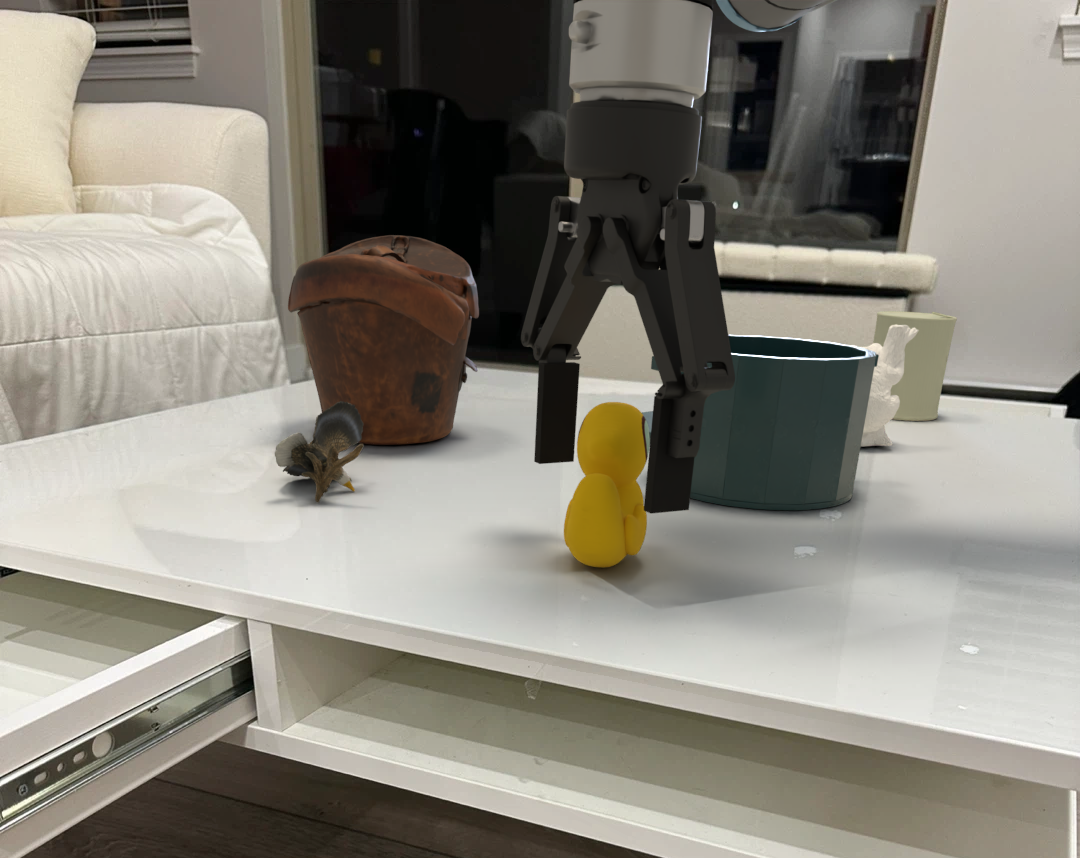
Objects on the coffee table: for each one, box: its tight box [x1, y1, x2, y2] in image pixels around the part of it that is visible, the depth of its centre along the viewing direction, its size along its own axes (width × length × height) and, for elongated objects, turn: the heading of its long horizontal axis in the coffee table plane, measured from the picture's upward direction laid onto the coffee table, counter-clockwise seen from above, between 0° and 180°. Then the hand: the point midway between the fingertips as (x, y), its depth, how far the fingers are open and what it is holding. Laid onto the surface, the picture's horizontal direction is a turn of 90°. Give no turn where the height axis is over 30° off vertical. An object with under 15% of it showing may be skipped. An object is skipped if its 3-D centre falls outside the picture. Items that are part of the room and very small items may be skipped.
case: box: [287, 234, 480, 446], centre depth 101 cm, size 18×20×18 cm
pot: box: [650, 334, 879, 511], centre depth 89 cm, size 17×22×12 cm
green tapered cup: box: [872, 310, 958, 422], centre depth 127 cm, size 9×9×12 cm
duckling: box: [563, 401, 650, 568], centre depth 68 cm, size 11×5×10 cm, turn 166°
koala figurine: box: [850, 325, 919, 448], centre depth 108 cm, size 8×7×12 cm
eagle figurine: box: [274, 401, 365, 503], centre depth 82 cm, size 8×7×9 cm
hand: (605, 484), depth 67 cm, fingers open, 13 cm apart
